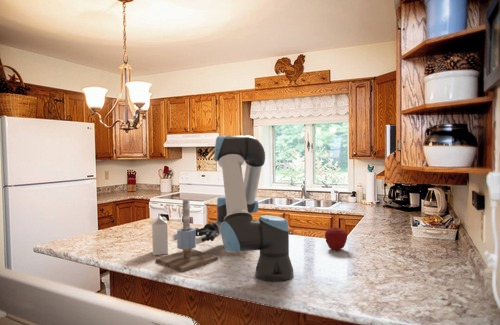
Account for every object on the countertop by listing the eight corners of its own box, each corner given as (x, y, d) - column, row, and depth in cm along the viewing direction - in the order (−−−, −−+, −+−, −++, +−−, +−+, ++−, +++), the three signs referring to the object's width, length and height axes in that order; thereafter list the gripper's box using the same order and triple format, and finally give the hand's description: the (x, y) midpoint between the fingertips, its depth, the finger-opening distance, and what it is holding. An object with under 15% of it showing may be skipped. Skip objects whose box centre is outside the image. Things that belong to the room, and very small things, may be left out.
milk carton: (152, 255, 155) (152, 216, 155) (153, 251, 162) (152, 214, 162) (167, 254, 157) (167, 215, 157) (167, 250, 164) (167, 213, 164)
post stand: (218, 259, 148) (217, 199, 147) (182, 271, 133) (181, 204, 132) (190, 251, 161) (189, 195, 161) (155, 261, 146) (154, 200, 146)
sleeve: (199, 246, 147) (199, 229, 147) (185, 250, 141) (184, 232, 141) (188, 243, 153) (188, 226, 153) (174, 247, 147) (174, 229, 147)
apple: (348, 253, 155) (348, 229, 154) (325, 252, 157) (325, 228, 157) (346, 247, 165) (346, 224, 165) (324, 246, 168) (324, 224, 167)
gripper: (233, 240, 158) (206, 251, 140) (194, 234, 171) (165, 243, 153) (233, 224, 158) (206, 234, 140) (194, 220, 171) (164, 228, 152)
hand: (184, 239), depth 146 cm, fingers open, 13 cm apart
